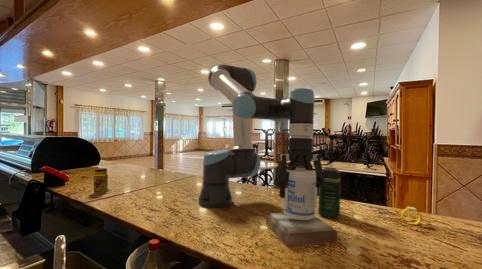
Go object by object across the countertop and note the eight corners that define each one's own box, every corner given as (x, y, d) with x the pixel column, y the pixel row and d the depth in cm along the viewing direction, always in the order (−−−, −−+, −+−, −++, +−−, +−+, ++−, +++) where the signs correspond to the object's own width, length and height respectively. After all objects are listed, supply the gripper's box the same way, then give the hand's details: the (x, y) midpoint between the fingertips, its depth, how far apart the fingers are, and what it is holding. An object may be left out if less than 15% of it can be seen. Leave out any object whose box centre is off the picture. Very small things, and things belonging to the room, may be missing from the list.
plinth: (266, 224, 76) (266, 212, 76) (307, 220, 80) (307, 209, 80) (287, 247, 61) (287, 232, 61) (336, 241, 65) (337, 228, 65)
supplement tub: (281, 218, 68) (282, 170, 68) (286, 208, 77) (287, 166, 77) (314, 223, 64) (315, 173, 64) (315, 212, 73) (316, 168, 73)
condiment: (92, 194, 106) (93, 170, 107) (92, 191, 113) (92, 167, 113) (109, 192, 111) (110, 169, 111) (108, 189, 118) (108, 166, 118)
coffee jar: (340, 220, 81) (341, 170, 81) (317, 217, 84) (318, 168, 84) (339, 212, 90) (340, 167, 90) (319, 209, 93) (320, 165, 93)
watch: (418, 224, 80) (419, 208, 80) (422, 227, 77) (424, 210, 77) (399, 221, 82) (400, 205, 81) (402, 223, 79) (404, 207, 79)
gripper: (273, 136, 64) (271, 213, 64) (338, 138, 70) (336, 208, 70) (264, 136, 71) (262, 205, 71) (323, 137, 77) (322, 201, 77)
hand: (299, 207), depth 70 cm, fingers closed on supplement tub, 10 cm apart
